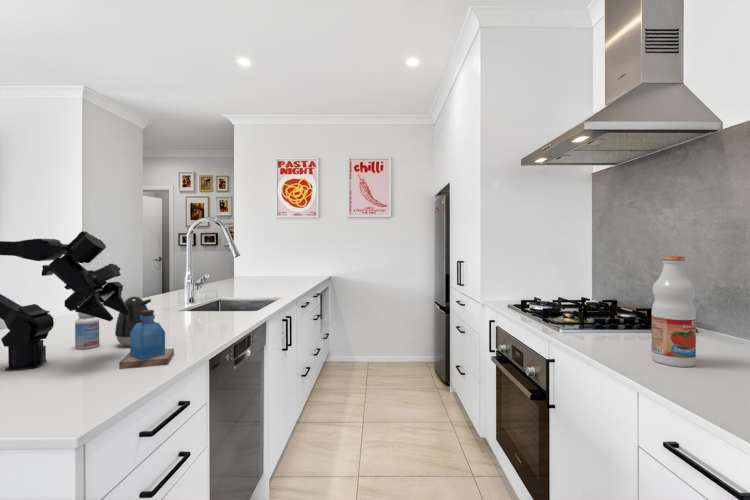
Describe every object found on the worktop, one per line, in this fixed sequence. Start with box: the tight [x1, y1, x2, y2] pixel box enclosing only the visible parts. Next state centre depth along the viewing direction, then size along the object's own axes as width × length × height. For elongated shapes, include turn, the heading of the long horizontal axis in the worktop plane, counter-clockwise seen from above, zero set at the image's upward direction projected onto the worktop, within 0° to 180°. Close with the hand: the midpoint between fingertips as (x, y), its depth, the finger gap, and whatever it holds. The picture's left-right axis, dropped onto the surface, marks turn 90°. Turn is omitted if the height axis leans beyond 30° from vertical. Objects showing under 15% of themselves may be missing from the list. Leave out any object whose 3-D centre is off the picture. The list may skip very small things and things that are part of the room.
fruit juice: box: [650, 255, 697, 368], centre depth 106 cm, size 9×9×28 cm
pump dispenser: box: [114, 296, 152, 347], centre depth 127 cm, size 10×10×15 cm
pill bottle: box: [74, 312, 100, 350], centre depth 124 cm, size 6×6×11 cm
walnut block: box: [118, 348, 175, 370], centre depth 109 cm, size 11×11×2 cm
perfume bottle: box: [129, 309, 166, 360], centre depth 108 cm, size 6×6×12 cm
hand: (120, 316), depth 108 cm, fingers open, 9 cm apart
